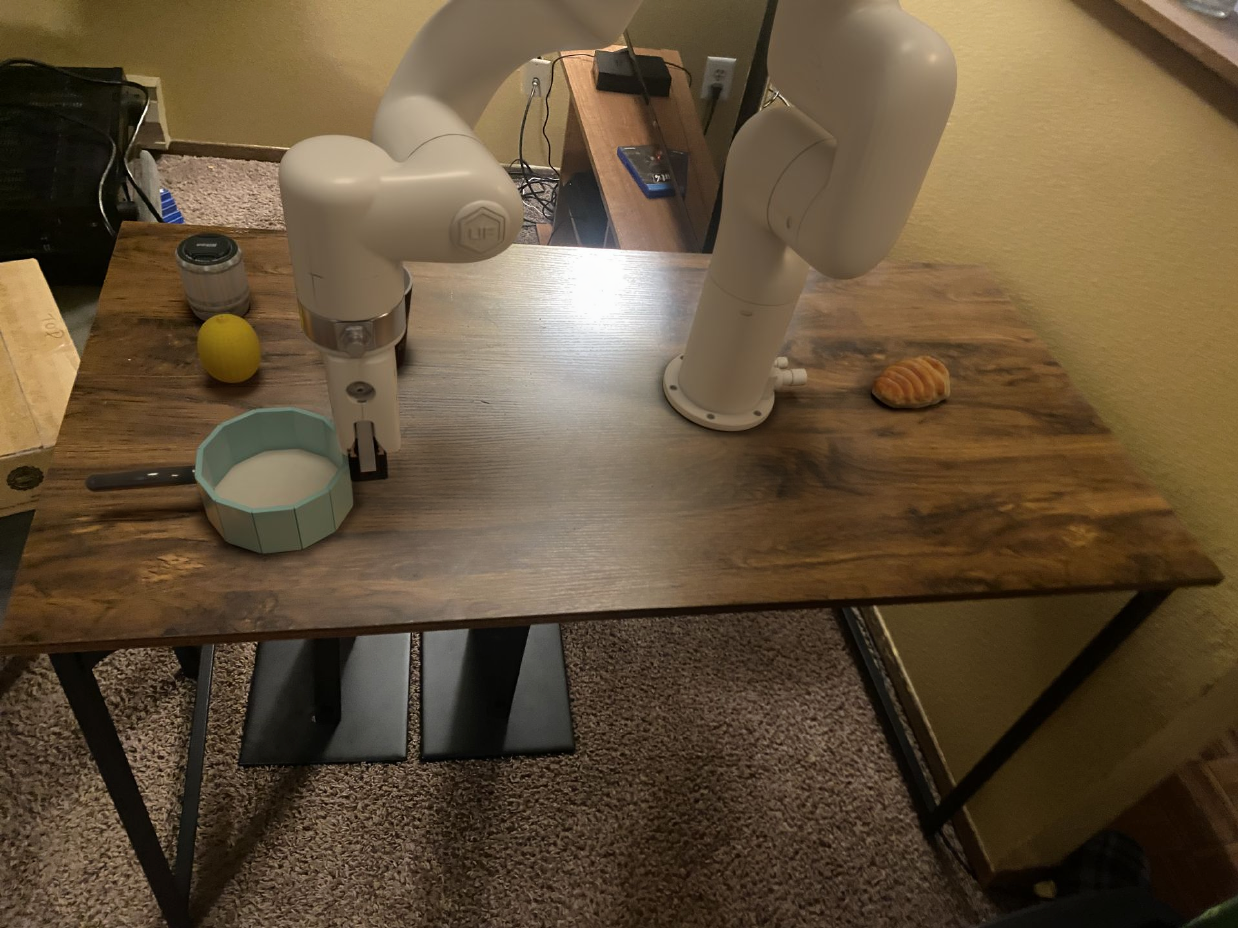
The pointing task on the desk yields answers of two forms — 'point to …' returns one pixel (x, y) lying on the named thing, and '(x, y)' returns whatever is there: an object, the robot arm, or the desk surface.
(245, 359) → the lemon
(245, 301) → the camera lens
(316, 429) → the pan
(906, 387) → the pastry
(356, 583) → the desk surface
